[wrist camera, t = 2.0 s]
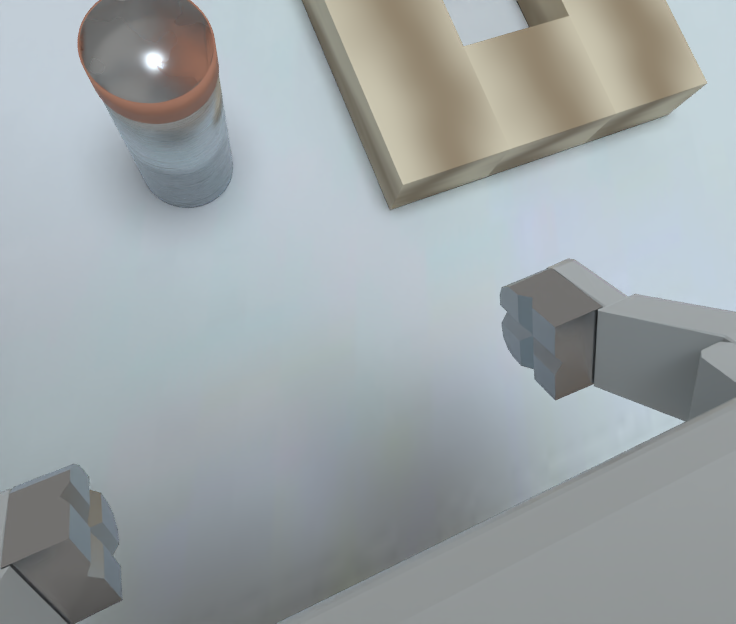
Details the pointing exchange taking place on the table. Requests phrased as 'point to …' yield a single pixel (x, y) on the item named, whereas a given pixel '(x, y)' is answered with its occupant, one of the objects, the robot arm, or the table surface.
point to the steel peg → (162, 93)
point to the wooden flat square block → (497, 83)
